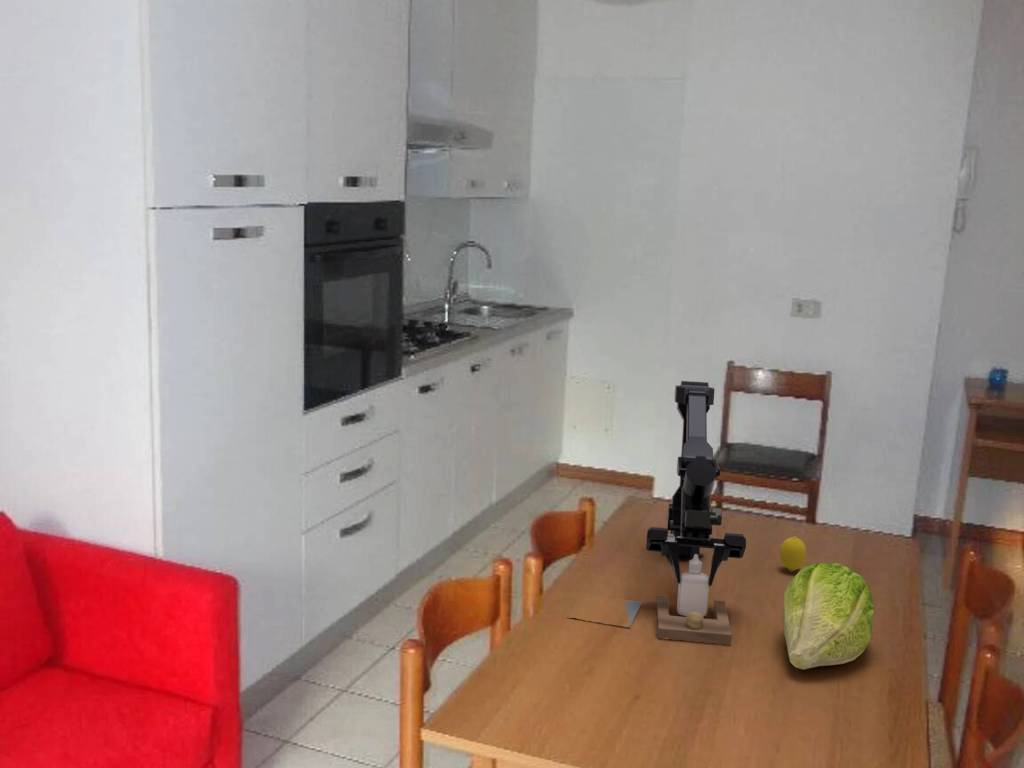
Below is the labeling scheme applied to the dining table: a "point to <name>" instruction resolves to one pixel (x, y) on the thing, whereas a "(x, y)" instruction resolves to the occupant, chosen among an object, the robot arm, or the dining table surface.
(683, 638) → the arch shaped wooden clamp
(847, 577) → the lettuce
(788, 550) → the lemon
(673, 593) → the dining table surface
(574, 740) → the dining table surface
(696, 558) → the eye dropper bottle
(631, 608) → the slate mat
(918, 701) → the dining table surface
